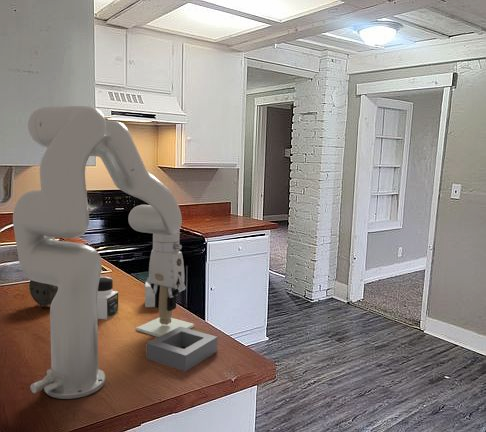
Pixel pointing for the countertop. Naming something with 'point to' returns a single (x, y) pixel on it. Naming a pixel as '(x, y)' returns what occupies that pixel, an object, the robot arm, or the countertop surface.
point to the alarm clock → (42, 292)
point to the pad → (162, 326)
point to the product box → (149, 296)
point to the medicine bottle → (106, 299)
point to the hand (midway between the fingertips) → (165, 307)
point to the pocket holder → (179, 358)
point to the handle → (163, 303)
